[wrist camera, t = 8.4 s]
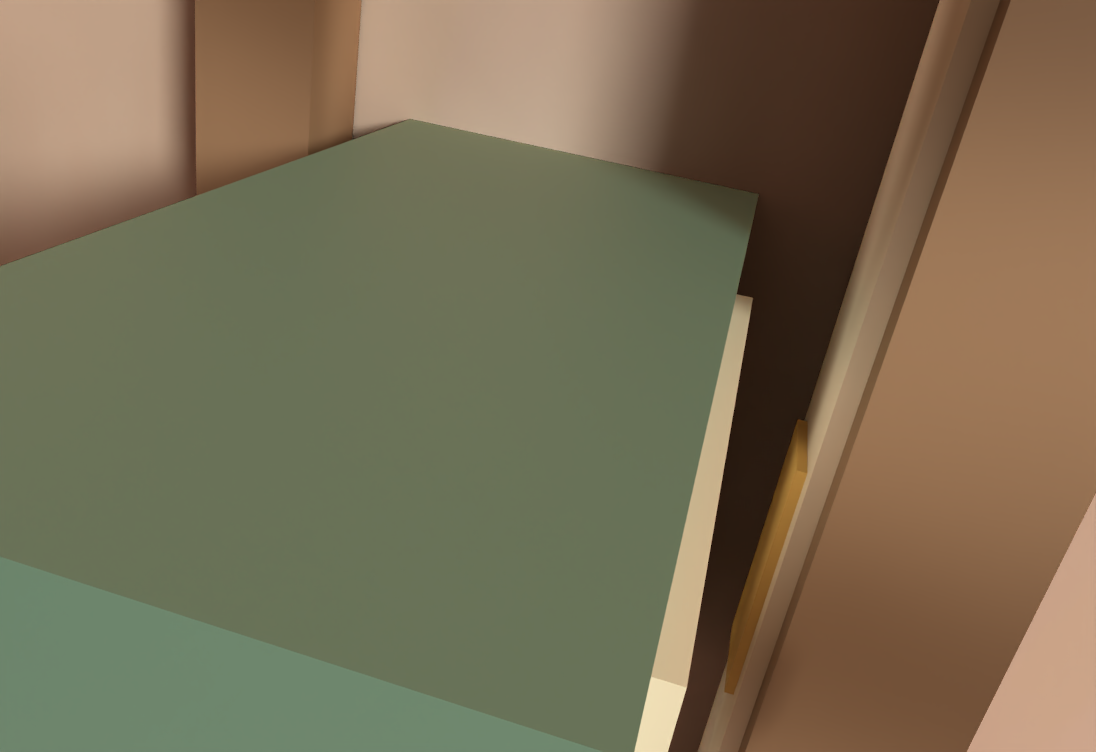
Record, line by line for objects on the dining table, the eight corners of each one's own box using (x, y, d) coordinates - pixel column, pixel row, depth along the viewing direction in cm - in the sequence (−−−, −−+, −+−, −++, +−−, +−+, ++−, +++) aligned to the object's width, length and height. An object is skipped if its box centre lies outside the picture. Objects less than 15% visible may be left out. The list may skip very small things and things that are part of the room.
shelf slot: (266, -869, 8) (-51, -1363, 5) (1507, -831, 7) (2094, -1512, 4) (235, 860, 19) (121, 1036, 16) (722, 1042, 17) (703, 1278, 14)
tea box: (370, 557, 15) (-142, 1239, 7) (410, 118, 12) (-427, 419, 4) (655, 643, 14) (455, 1524, 6) (775, 197, 11) (690, 782, 3)
